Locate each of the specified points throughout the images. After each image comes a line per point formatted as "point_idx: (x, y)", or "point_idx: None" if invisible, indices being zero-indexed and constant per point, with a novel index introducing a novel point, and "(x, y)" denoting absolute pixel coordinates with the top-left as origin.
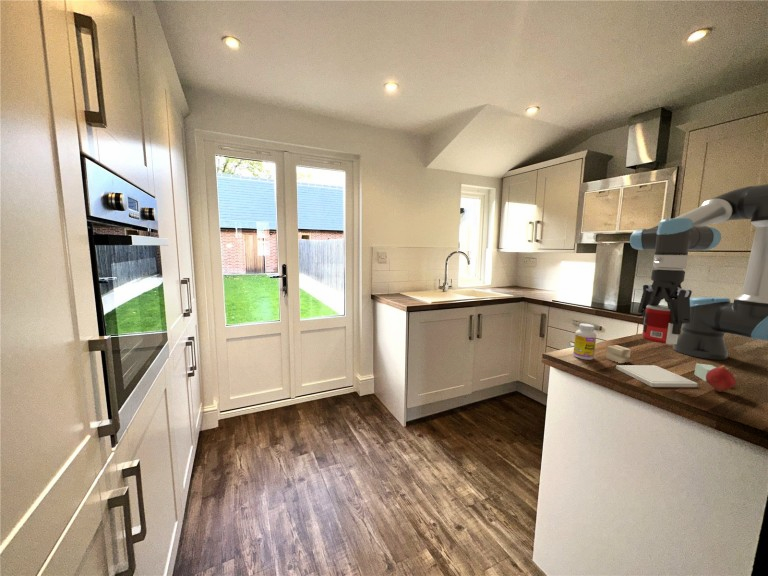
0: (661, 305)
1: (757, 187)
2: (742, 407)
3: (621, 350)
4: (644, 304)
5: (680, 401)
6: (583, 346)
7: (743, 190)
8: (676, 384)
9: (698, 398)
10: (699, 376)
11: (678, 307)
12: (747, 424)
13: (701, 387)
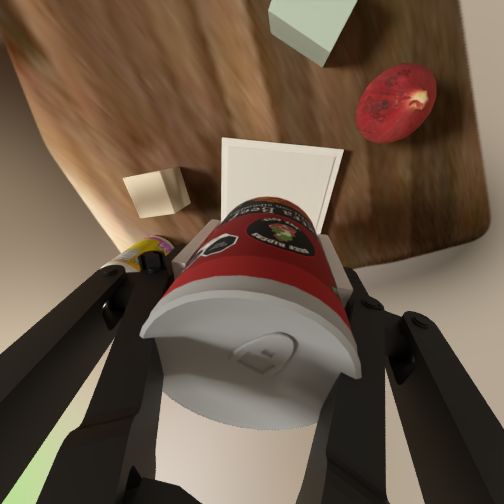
0: (158, 321)
1: None
2: (445, 161)
3: (174, 211)
4: (96, 348)
5: (371, 260)
6: None
7: None
8: (327, 205)
9: (378, 214)
10: (295, 48)
11: (421, 469)
12: (472, 237)
13: (345, 137)
